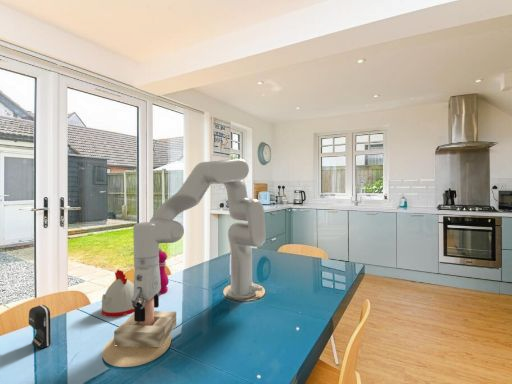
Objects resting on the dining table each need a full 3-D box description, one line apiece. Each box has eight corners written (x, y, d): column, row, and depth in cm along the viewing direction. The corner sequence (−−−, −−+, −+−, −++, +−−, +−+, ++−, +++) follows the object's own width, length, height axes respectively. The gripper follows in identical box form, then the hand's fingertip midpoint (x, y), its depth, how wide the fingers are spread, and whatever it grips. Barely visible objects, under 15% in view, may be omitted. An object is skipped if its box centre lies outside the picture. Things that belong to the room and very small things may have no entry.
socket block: (176, 324, 98) (176, 311, 98) (159, 347, 84) (159, 332, 84) (137, 323, 99) (137, 310, 99) (114, 346, 85) (114, 331, 85)
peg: (156, 331, 93) (155, 295, 93) (150, 338, 89) (150, 300, 89) (144, 331, 93) (144, 295, 93) (138, 337, 89) (138, 300, 89)
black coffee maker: (27, 344, 86) (26, 307, 86) (42, 338, 89) (42, 302, 89) (36, 352, 82) (35, 313, 82) (51, 345, 85) (50, 308, 85)
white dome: (130, 298, 120) (129, 263, 120) (147, 307, 112) (146, 269, 111) (95, 310, 110) (94, 271, 109) (111, 320, 101) (110, 279, 100)
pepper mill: (163, 295, 124) (163, 250, 123) (148, 294, 125) (148, 249, 125) (171, 289, 131) (171, 246, 130) (157, 288, 132) (156, 245, 132)
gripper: (145, 269, 82) (146, 327, 82) (168, 254, 99) (168, 302, 99) (120, 268, 82) (121, 326, 83) (147, 254, 100) (148, 302, 100)
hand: (147, 313), depth 91 cm, fingers open, 9 cm apart
